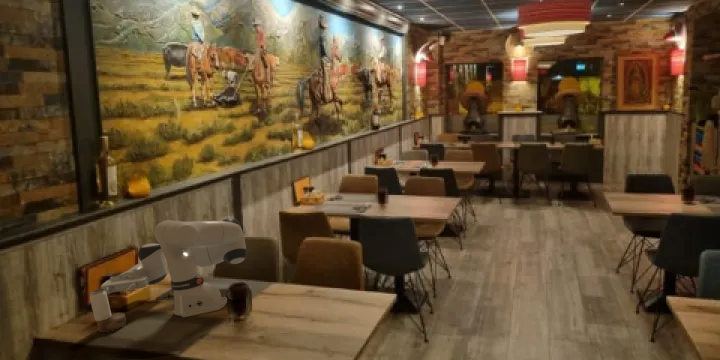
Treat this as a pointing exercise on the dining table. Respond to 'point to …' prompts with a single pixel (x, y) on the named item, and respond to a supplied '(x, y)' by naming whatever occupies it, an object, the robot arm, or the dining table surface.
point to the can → (100, 305)
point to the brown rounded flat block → (112, 322)
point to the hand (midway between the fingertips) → (117, 290)
